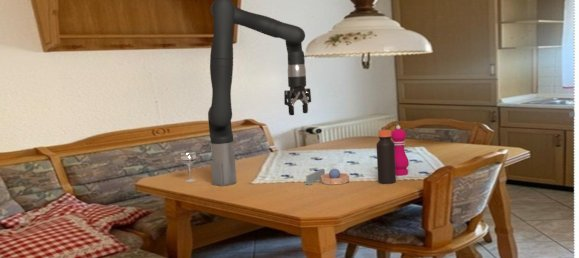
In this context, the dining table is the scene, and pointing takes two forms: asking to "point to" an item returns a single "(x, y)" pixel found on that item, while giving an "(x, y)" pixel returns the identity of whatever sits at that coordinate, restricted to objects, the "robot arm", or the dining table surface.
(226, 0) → the robot arm
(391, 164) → the bottle
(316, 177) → the fence
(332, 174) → the ball
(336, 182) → the bowl
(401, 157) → the pepper mill
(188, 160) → the wineglass
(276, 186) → the dining table surface
